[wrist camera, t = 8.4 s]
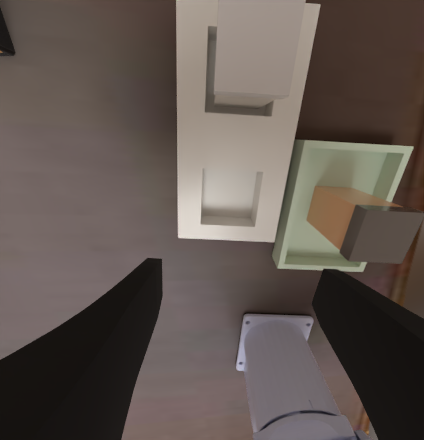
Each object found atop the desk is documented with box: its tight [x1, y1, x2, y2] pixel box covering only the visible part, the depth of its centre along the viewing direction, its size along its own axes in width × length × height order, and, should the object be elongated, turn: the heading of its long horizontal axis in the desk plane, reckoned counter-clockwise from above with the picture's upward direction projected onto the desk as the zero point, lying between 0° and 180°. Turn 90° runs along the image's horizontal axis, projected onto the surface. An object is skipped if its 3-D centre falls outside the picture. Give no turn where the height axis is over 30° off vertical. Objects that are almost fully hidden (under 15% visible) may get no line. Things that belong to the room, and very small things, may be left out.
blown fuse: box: [306, 186, 424, 264], centre depth 15 cm, size 3×3×6 cm
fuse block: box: [176, 0, 321, 242], centre depth 15 cm, size 15×8×3 cm, turn 177°
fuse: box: [214, 0, 306, 109], centre depth 12 cm, size 3×3×6 cm
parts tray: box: [272, 139, 414, 272], centre depth 18 cm, size 11×8×2 cm
